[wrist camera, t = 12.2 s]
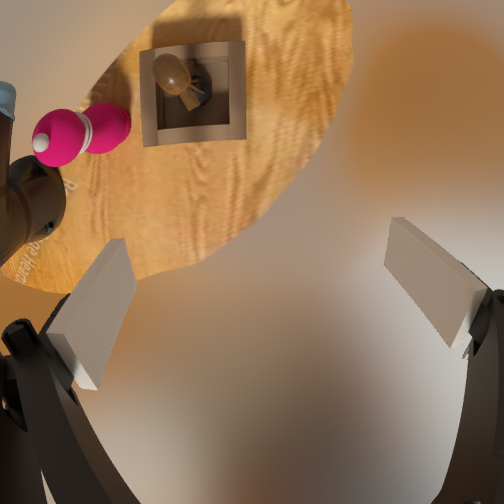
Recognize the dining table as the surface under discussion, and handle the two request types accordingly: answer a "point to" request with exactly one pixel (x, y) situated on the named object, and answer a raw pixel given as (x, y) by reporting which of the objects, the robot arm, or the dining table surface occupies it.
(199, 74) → the box
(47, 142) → the pepper mill
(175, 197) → the dining table surface
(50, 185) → the robot arm
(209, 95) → the wooden tabletop sculpture
